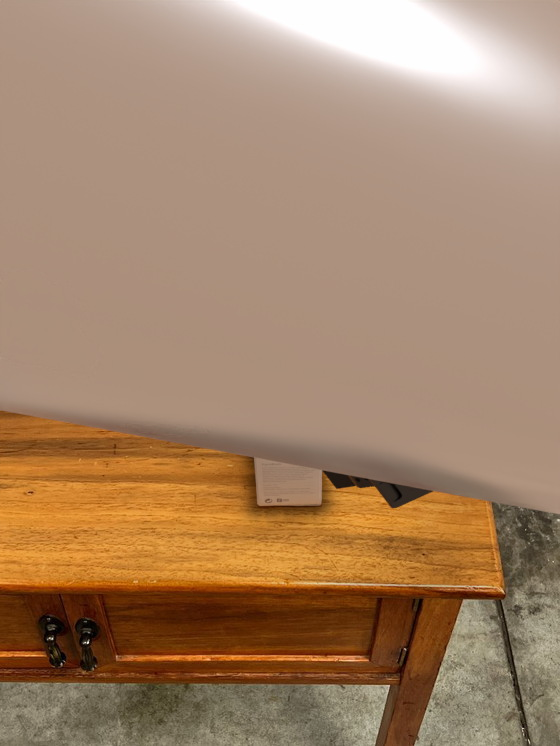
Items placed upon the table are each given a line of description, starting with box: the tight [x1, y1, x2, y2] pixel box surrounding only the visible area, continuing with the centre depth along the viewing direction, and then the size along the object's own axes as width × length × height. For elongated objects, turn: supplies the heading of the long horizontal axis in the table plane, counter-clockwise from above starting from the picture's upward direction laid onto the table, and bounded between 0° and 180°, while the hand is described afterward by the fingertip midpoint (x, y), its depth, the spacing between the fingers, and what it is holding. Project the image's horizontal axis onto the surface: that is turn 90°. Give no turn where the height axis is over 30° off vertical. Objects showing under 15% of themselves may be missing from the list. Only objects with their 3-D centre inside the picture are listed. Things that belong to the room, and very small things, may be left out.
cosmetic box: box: [253, 457, 323, 507], centre depth 66 cm, size 8×6×15 cm
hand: (374, 411), depth 59 cm, fingers open, 13 cm apart
